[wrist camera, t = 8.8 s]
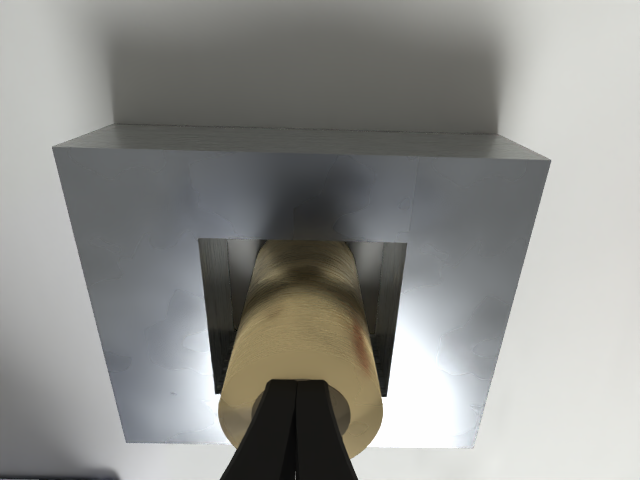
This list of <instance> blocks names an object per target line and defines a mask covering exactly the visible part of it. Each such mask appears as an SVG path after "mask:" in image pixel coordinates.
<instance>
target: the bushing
mask: <svg viewBox="0 0 640 480" xmlns="http://www.w3.org/2000/svg"><path fill="white" fill-rule="evenodd" d="M271 379H293V380H297V384H298V381H307V380H325V381H326V382H327V383H328V387H329V393H330V398H331V403H332V407H333V411H334V414H335V418H336V421H337V424H338V428H339V431H340V434H341V437H342V440H343V442H344V445H345V448H346V450H347V453H348V456H349V458H350V459H351V458H353V457H354V456H356V455H358V454H359V453H360V452H362V451H363V450H364V449H365V448H366V447H367V446H368V445H369V444H370V443H371V442H372V441H373V440H374V438H375V437H376V435H377V433H378V431H379V429H380V427H381V424H382V421H383V413H384V411H383V401H382V396H381V391H380V386H379V381H378V376H377V371H376V366H375V361H374V356H373V351H372V346H371V341H370V336H369V330H368V325H367V320H366V315H365V310H364V305H363V300H362V295H361V290H360V285H359V280H358V275H357V270H356V265H355V260H354V257H353V255H352V252H351V251H350V249H349V247H348V246H347V245H346V243H345V242H344V241H310V240H267V241H266V243H265V244H264V245H263V246H262V248H261V249H260V251H259V253H258V256H257V258H256V262H255V266H254V270H253V274H252V278H251V281H250V285H249V289H248V293H247V297H246V300H245V304H244V308H243V312H242V316H241V320H240V323H239V327H238V331H237V335H236V339H235V342H234V346H233V350H232V354H231V358H230V362H229V365H228V369H227V373H226V377H225V381H224V384H223V388H222V392H221V396H220V400H219V404H218V418H219V422H220V426H221V428H222V430H223V432H224V434H225V436H226V437H227V439H228V440H229V442H230V443H231V444H232V445H233V446H234V447H235V448H236V449H237V448H238V446H239V444H240V442H241V441H242V439H243V437H244V435H245V433H246V431H247V429H248V427H249V425H250V423H251V421H252V419H253V416H254V414H255V412H256V410H257V408H258V405H259V403H260V400H261V398H262V395H263V393H264V390H265V387H266V384H267V382H268V381H270V380H271Z"/></svg>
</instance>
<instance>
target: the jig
mask: <svg viewBox="0 0 640 480" xmlns="http://www.w3.org/2000/svg"><path fill="white" fill-rule="evenodd" d="M52 149H53V153H54V157H55V161H56V165H57V169H58V173H59V177H60V181H61V185H62V189H63V193H64V197H65V201H66V205H67V209H68V213H69V217H70V221H71V225H72V229H73V233H74V237H75V241H76V245H77V249H78V253H79V257H80V261H81V265H82V269H83V273H84V277H85V281H86V285H87V289H88V293H89V297H90V301H91V305H92V309H93V313H94V317H95V321H96V325H97V329H98V333H99V337H100V341H101V345H102V349H103V353H104V357H105V361H106V364H107V368H108V372H109V376H110V380H111V384H112V388H113V392H114V396H115V400H116V404H117V408H118V412H119V416H120V420H121V424H122V428H123V432H124V436H125V440H126V443H172V444H231V443H230V442H229V440H228V439H227V437H226V436H225V434H224V432H223V430H222V428H221V426H220V422H219V418H218V404H219V400H220V396H221V392H222V388H223V384H224V381H225V377H226V373H227V369H228V365H229V362H230V358H231V354H232V350H233V346H234V342H235V339H236V335H237V331H234V327H233V314H232V301H231V288H230V275H229V262H228V249H227V239H267V240H310V241H353V242H384V249H383V259H382V269H381V278H380V288H379V297H378V307H377V317H376V326H375V334H369V336H370V341H371V346H372V351H373V356H374V361H375V366H376V371H377V376H378V381H379V386H380V391H381V396H382V401H383V411H384V413H383V421H382V424H381V427H380V429H379V431H378V433H377V435H376V437H375V438H374V440H373V441H372V442H371V443H370V444H369V445H368V446H367V447H424V448H473V447H474V444H475V440H476V436H477V433H478V429H479V425H480V422H481V418H482V414H483V411H484V407H485V403H486V399H487V396H488V392H489V388H490V385H491V381H492V377H493V374H494V370H495V366H496V363H497V359H498V355H499V351H500V348H501V344H502V340H503V337H504V333H505V329H506V326H507V322H508V318H509V314H510V311H511V307H512V303H513V300H514V296H515V292H516V289H517V285H518V281H519V278H520V274H521V270H522V266H523V263H524V259H525V255H526V252H527V248H528V244H529V241H530V237H531V233H532V230H533V226H534V222H535V218H536V215H537V211H538V207H539V204H540V200H541V196H542V193H543V189H544V185H545V182H546V178H547V174H548V170H549V167H550V163H551V160H550V159H548V158H546V157H544V156H542V155H540V154H538V153H536V152H534V151H532V150H530V149H528V148H525V147H523V146H521V145H519V144H517V143H515V142H513V141H511V140H509V139H507V138H505V137H503V136H501V135H499V134H465V133H428V132H391V131H354V130H317V129H280V128H243V127H206V126H169V125H132V124H112V125H109V126H107V127H104V128H101V129H99V130H96V131H93V132H91V133H88V134H85V135H82V136H80V137H77V138H74V139H72V140H69V141H66V142H64V143H61V144H58V145H56V146H53V147H52Z"/></svg>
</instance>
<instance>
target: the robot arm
mask: <svg viewBox="0 0 640 480" xmlns="http://www.w3.org/2000/svg"><path fill="white" fill-rule="evenodd" d="M295 471H296V480H358V478H357V476H356V474H355V471H354V469H353V466H352V463H351V461H350V458H349V456H348V453H347V450H346V448H345V445H344V442H343V440H342V437H341V434H340V431H339V428H338V424H337V421H336V418H335V414H334V411H333V407H332V403H331V398H330V393H329V387H328V383H327V382H326V381H325V380H307V381H298V384H297V380H293V379H271V380H270V381H268V382H267V384H266V387H265V390H264V393H263V395H262V398H261V400H260V403H259V405H258V408H257V410H256V412H255V414H254V416H253V419H252V421H251V423H250V425H249V427H248V429H247V431H246V433H245V435H244V437H243V439H242V441H241V442H240V444H239V446H238V448H237V450H236V452H235V454H234V456H233V458H232V460H231V461H230V463H229V465H228V467H227V468H226V470H225V472H224V473H223V475H222V477H221V478H220V480H295ZM0 480H37V479H0Z"/></svg>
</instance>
